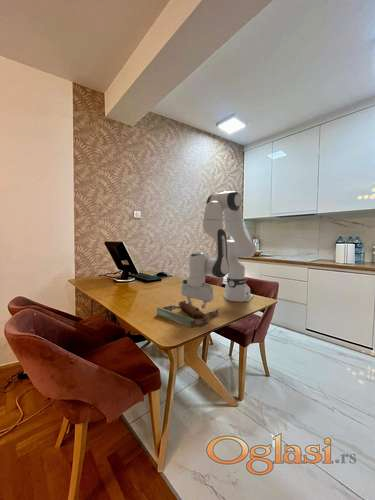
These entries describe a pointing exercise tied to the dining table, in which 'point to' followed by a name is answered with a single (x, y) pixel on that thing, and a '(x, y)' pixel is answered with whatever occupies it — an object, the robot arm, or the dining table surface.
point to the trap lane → (182, 319)
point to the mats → (196, 325)
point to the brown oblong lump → (192, 311)
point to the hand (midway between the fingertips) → (196, 306)
